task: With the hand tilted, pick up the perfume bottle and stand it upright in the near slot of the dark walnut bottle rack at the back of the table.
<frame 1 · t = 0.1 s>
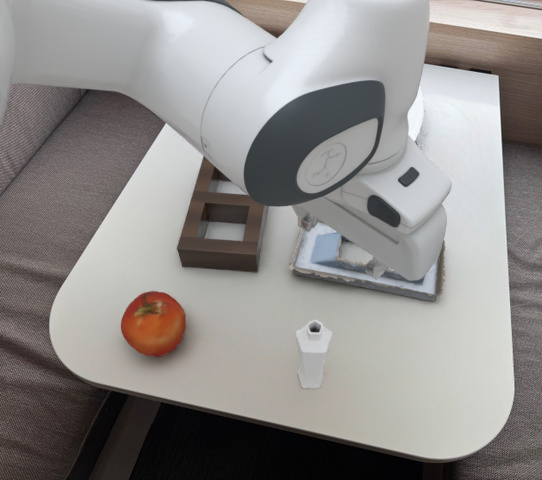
hand: (340, 248, 56), 26 cm above the table, tool pointing down, fingers open, 8 cm apart
rack: (231, 217, 92), on the table
picture frame: (368, 262, 88), on the table
tomato: (160, 335, 78), on the table
perfume bottle: (309, 377, 75), on the table
bowl: (363, 126, 109), on the table
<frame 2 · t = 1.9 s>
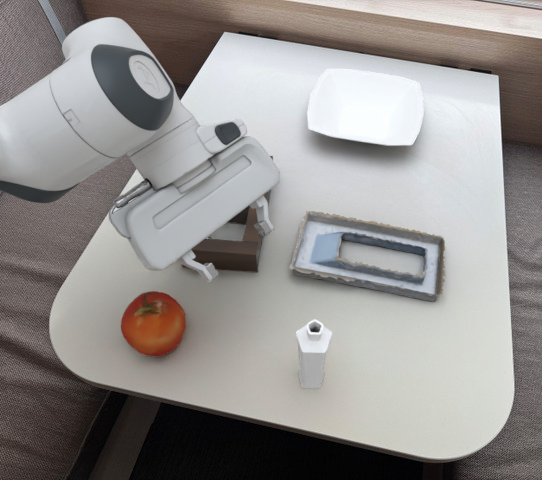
hand: (241, 254, 65), 18 cm above the table, tool tilted 45°, fingers open, 8 cm apart
nothing on the table moved.
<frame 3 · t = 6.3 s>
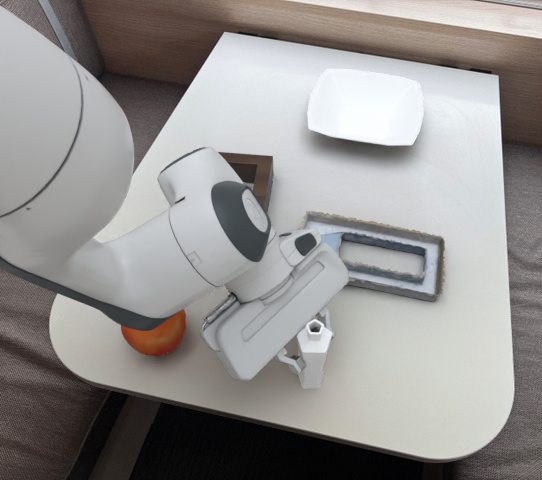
hand: (315, 354, 68), 8 cm above the table, tool tilted 45°, fingers closed on perfume bottle, 4 cm apart
perfume bottle: (309, 377, 75), on the table, touching gripper
everything else where it was.
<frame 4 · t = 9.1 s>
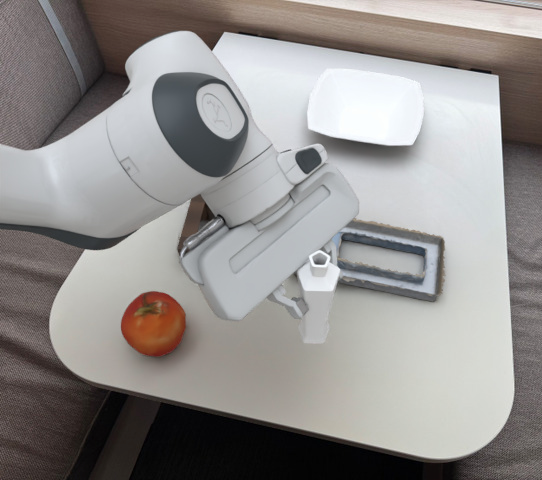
hand: (319, 297, 57), 22 cm above the table, tool tilted 45°, fingers closed on perfume bottle, 4 cm apart
perfume bottle: (312, 331, 64), point 14 cm above the table, touching gripper
everything else where it was.
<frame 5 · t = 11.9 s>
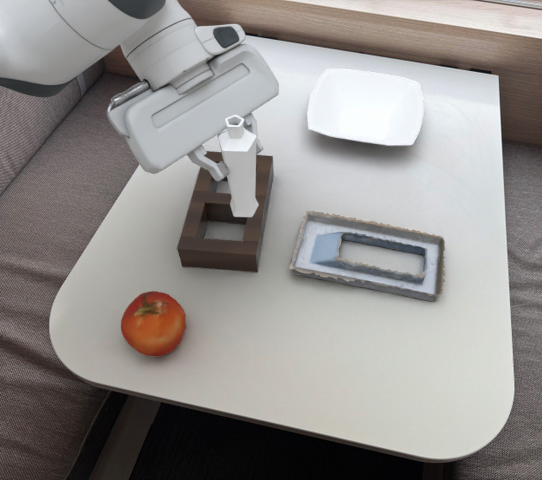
hand: (241, 165, 64), 26 cm above the table, tool tilted 45°, fingers closed on perfume bottle, 4 cm apart
perfume bottle: (242, 208, 71), point 17 cm above the table, touching gripper
everything else where it was.
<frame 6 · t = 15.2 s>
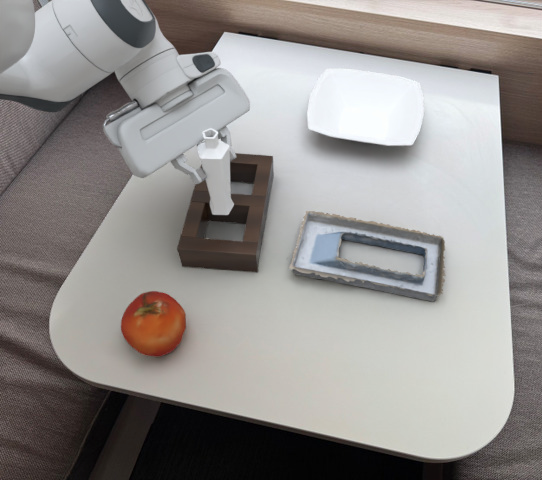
hand: (217, 170, 76), 17 cm above the table, tool tilted 45°, fingers closed on perfume bottle, 4 cm apart
perfume bottle: (220, 207, 83), point 8 cm above the table, touching gripper
everything else where it was.
when the fingers open (8 cm above the table, at t = 18.0 s): perfume bottle stays where it is, resting in rack.
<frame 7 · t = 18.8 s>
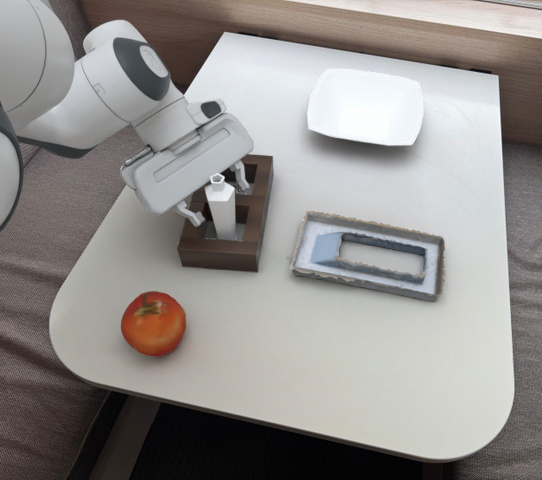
hand: (223, 206, 82), 9 cm above the table, tool tilted 45°, fingers open, 8 cm apart
perfume bottle: (226, 240, 89), resting in rack
everything else where it was.
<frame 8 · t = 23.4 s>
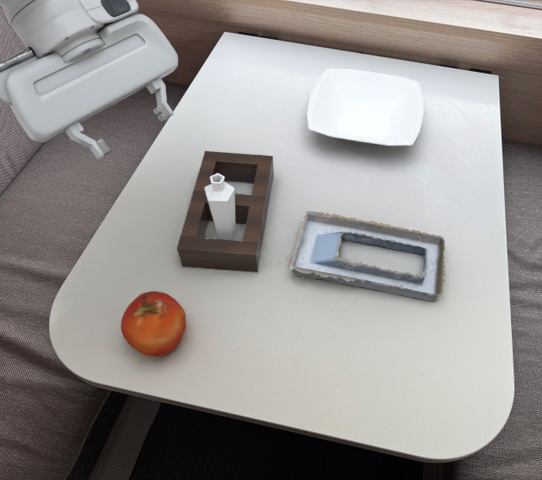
hand: (137, 136, 64), 27 cm above the table, tool tilted 45°, fingers open, 8 cm apart
nothing on the table moved.
at the end: perfume bottle 0.0 cm from the target spot in the rack, point 0.0 cm above the rack's base; perfume bottle tilted 0°; the gripper is holding nothing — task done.
